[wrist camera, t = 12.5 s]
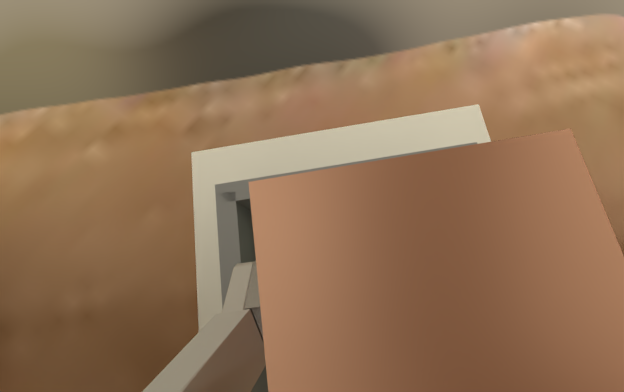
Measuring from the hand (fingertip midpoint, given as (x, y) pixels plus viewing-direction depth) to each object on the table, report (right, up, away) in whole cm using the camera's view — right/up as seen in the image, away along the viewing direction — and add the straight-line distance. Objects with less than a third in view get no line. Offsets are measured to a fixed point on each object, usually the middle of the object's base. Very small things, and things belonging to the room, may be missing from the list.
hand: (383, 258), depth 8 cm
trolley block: (+1, -2, +6) cm, 6 cm away
